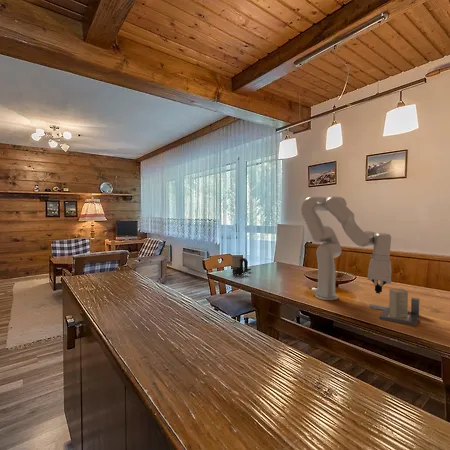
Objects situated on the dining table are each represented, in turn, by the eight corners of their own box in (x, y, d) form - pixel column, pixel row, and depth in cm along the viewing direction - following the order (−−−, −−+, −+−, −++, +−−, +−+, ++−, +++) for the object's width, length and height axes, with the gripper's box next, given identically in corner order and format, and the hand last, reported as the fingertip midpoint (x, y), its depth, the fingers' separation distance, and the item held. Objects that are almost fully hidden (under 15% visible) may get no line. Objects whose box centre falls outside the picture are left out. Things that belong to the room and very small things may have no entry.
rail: (369, 307, 146) (369, 292, 146) (370, 306, 148) (371, 291, 148) (418, 317, 133) (419, 300, 132) (419, 315, 135) (419, 298, 135)
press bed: (379, 318, 132) (379, 315, 131) (383, 312, 139) (383, 309, 139) (415, 326, 123) (415, 322, 123) (418, 318, 130) (418, 316, 130)
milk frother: (230, 274, 227) (230, 256, 226) (236, 270, 242) (236, 253, 241) (247, 276, 222) (247, 257, 221) (252, 271, 237) (252, 254, 236)
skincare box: (401, 313, 133) (402, 288, 133) (408, 317, 129) (408, 291, 128) (388, 314, 133) (389, 288, 133) (394, 317, 129) (395, 291, 128)
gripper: (363, 256, 145) (360, 291, 146) (396, 261, 135) (393, 298, 137) (366, 254, 151) (364, 287, 152) (399, 258, 141) (396, 294, 143)
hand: (378, 292), depth 145 cm, fingers closed
